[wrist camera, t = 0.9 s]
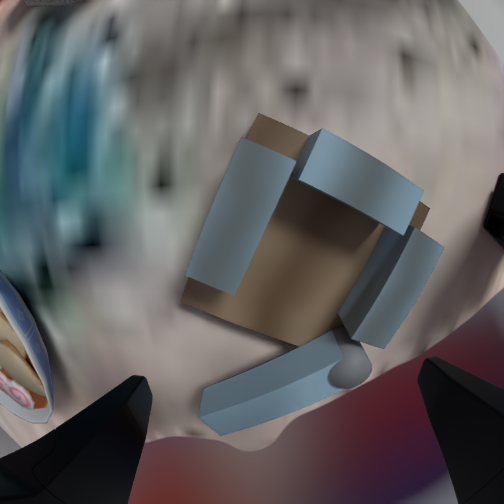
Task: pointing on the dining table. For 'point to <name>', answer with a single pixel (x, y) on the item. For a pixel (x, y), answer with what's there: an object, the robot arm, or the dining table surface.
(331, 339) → the folding leg
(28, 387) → the ramen bowl
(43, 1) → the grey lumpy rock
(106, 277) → the dining table surface
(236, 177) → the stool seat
